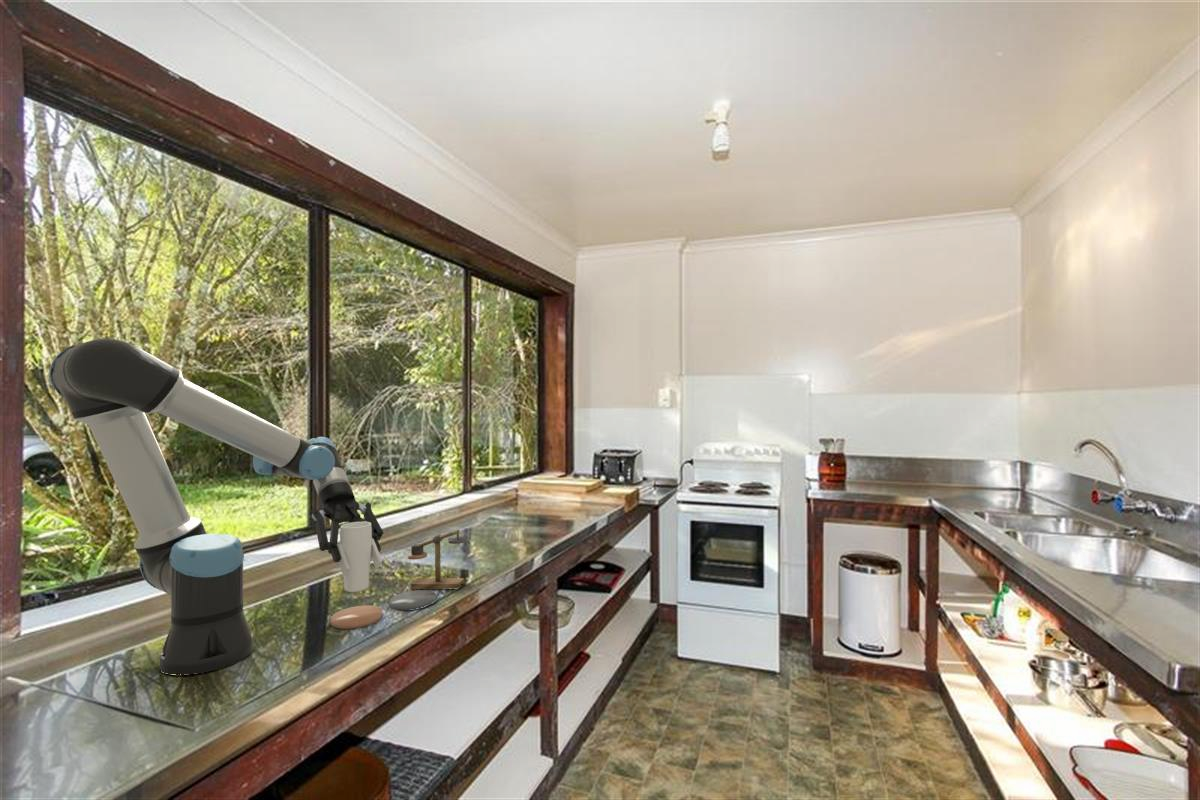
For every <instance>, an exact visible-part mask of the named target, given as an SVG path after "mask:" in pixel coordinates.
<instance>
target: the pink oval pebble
mask: <svg viewBox="0 0 1200 800" xmlns="http://www.w3.org/2000/svg"><path fill="white" fill-rule="evenodd" d="M383 612H384V611H383V609H382V607H381V606H377V605H366V604H365V605H356V606H352V607H347V608H344V609H341V610H338V611H336V612H335V613H334V614H332V615H331V617H330V626H332V628H335V629H339V630H340V629H341V630H349V629H350V630H352V629H359V628H362V627H363V628H364V627H367V626H370V625H373V624H375V623H377V622H378V621H381V619H382V618H383Z"/></svg>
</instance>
